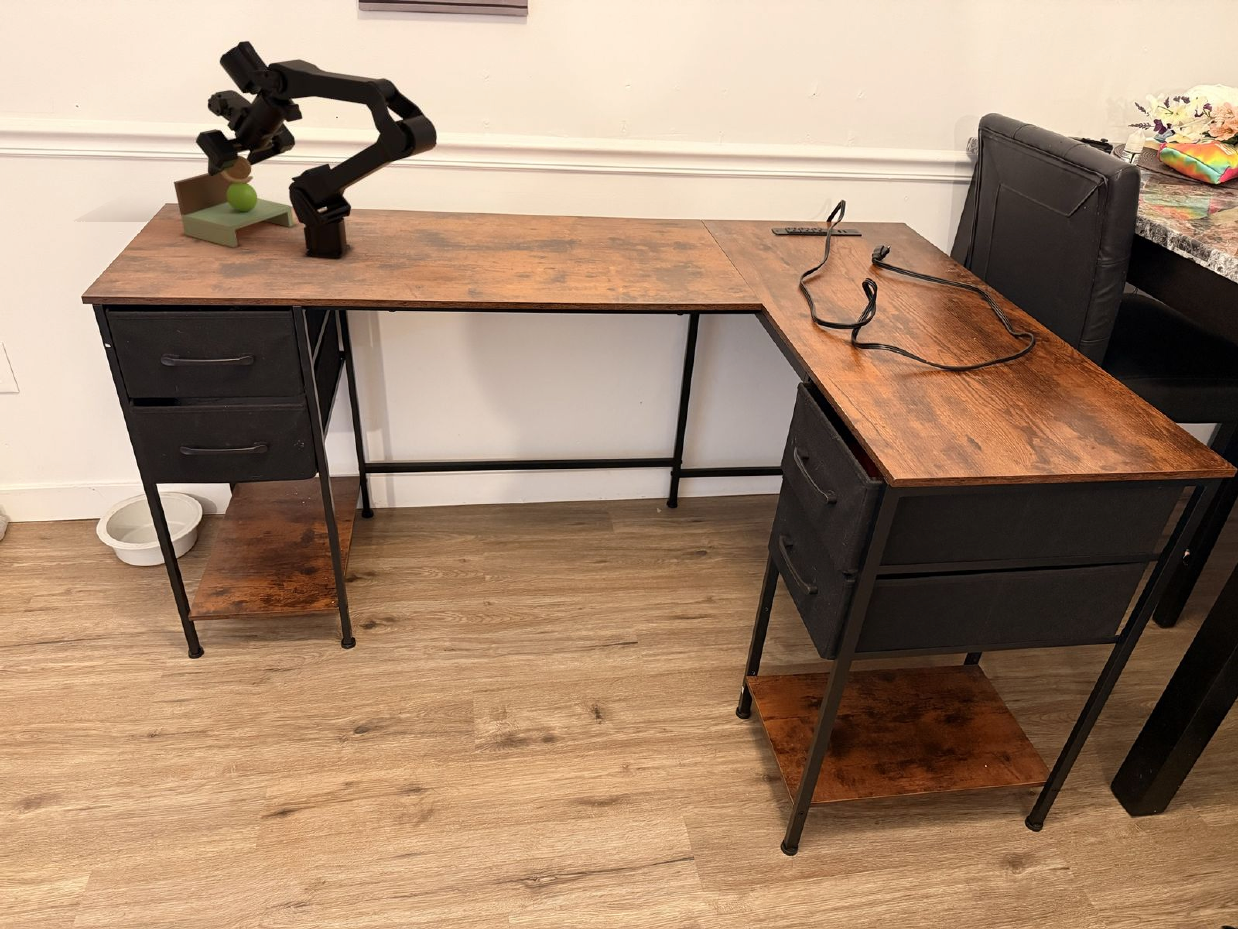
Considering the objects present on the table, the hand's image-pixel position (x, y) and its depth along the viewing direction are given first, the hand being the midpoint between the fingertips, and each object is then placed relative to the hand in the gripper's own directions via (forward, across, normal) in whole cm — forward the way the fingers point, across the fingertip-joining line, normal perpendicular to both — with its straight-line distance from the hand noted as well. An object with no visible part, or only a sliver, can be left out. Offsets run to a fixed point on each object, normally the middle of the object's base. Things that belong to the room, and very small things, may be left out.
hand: (229, 168), depth 161 cm
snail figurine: (+5, 0, +6) cm, 8 cm away
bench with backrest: (+8, 0, +8) cm, 12 cm away
